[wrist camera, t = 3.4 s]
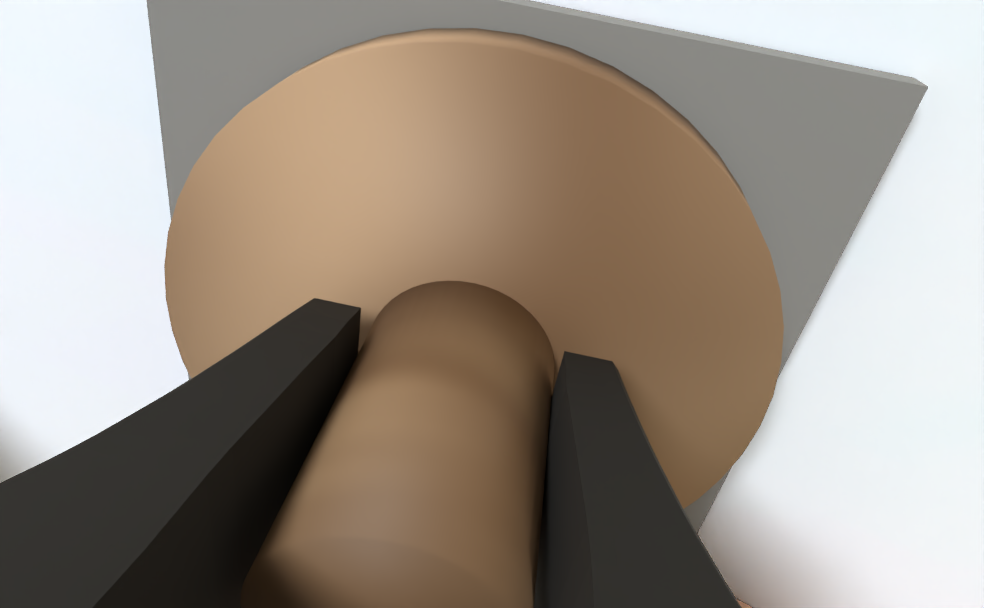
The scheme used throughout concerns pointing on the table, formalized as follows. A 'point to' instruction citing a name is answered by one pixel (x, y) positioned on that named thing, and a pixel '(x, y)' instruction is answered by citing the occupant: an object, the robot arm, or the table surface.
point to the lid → (471, 298)
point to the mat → (620, 43)
